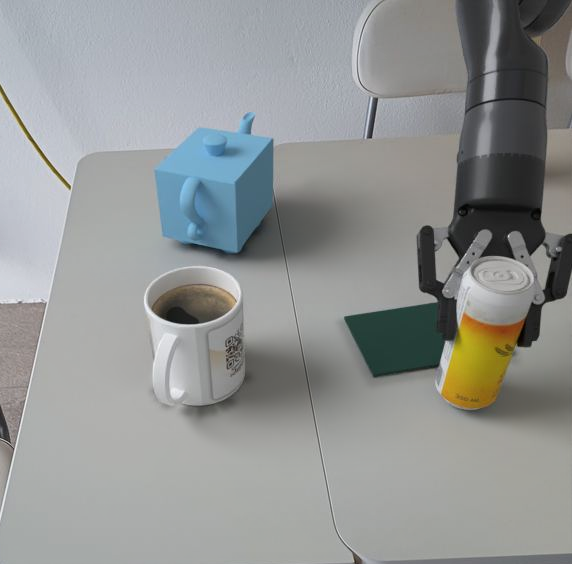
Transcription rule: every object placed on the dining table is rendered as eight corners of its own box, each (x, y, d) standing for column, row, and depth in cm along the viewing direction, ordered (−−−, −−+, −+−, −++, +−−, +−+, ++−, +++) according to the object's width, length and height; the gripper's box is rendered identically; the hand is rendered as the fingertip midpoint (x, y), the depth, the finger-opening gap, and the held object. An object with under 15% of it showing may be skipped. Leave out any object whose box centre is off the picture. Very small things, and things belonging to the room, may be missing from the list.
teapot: (229, 275, 84) (225, 178, 75) (154, 257, 88) (141, 163, 78) (287, 194, 99) (289, 105, 89) (220, 182, 102) (216, 95, 93)
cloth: (471, 299, 78) (471, 296, 78) (512, 354, 71) (513, 351, 71) (344, 318, 77) (344, 316, 76) (373, 377, 69) (373, 374, 69)
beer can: (504, 413, 64) (550, 293, 54) (442, 415, 64) (476, 296, 54) (485, 369, 68) (524, 251, 58) (427, 371, 68) (456, 254, 58)
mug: (265, 387, 69) (265, 307, 61) (165, 433, 65) (152, 353, 57) (217, 332, 76) (212, 254, 68) (123, 371, 72) (107, 292, 64)
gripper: (426, 146, 57) (410, 335, 57) (601, 152, 55) (586, 349, 55) (414, 172, 64) (400, 339, 64) (568, 178, 62) (554, 351, 62)
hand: (485, 343), depth 59 cm, fingers closed on beer can, 6 cm apart
